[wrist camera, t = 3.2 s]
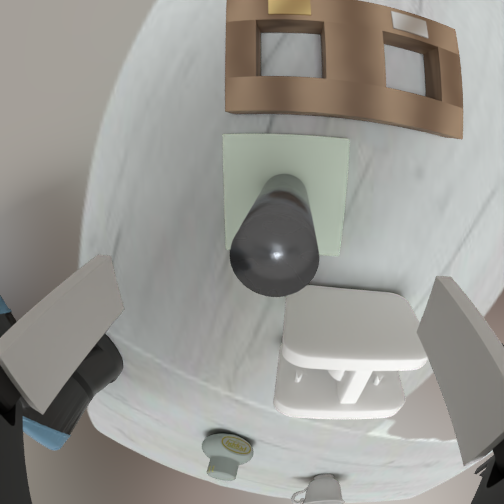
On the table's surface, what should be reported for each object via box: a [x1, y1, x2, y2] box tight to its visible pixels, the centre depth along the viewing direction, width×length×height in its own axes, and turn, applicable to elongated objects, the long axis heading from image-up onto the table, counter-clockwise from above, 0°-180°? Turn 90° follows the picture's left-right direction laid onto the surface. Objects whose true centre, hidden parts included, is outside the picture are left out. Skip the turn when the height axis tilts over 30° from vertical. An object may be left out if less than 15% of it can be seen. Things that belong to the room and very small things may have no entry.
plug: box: [230, 174, 319, 297], centre depth 20 cm, size 4×4×14 cm
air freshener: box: [202, 433, 253, 481], centre depth 44 cm, size 11×8×10 cm
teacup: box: [291, 474, 345, 504], centre depth 51 cm, size 12×15×10 cm
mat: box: [222, 134, 350, 256], centre depth 26 cm, size 12×12×1 cm
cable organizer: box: [273, 285, 428, 419], centre depth 27 cm, size 15×11×12 cm
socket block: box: [225, 0, 463, 139], centre depth 18 cm, size 22×12×4 cm, turn 90°
